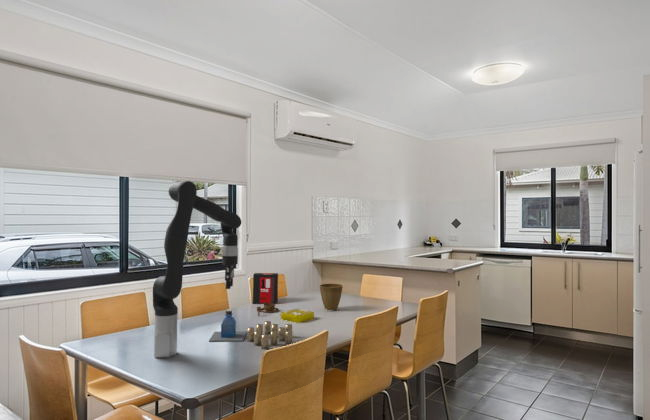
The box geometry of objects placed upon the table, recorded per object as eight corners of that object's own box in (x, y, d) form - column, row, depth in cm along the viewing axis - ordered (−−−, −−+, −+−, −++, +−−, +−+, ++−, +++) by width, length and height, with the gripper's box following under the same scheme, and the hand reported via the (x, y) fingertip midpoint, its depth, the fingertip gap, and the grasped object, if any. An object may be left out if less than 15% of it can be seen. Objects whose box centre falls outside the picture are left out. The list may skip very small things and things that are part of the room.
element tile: (315, 319, 253) (315, 311, 253) (298, 324, 241) (298, 315, 241) (296, 315, 262) (296, 307, 262) (279, 319, 251) (279, 311, 251)
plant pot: (319, 307, 285) (320, 283, 285) (342, 307, 285) (342, 283, 285) (318, 312, 270) (319, 286, 271) (342, 312, 270) (342, 287, 270)
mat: (243, 341, 204) (243, 340, 205) (208, 341, 203) (208, 340, 203) (246, 332, 220) (246, 331, 220) (214, 332, 219) (214, 331, 219)
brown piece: (285, 313, 269) (285, 303, 269) (258, 317, 255) (258, 307, 255) (269, 308, 282) (269, 299, 282) (242, 312, 268) (242, 303, 268)
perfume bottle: (235, 333, 215) (235, 309, 215) (233, 337, 209) (234, 312, 209) (223, 334, 215) (223, 310, 215) (221, 337, 209) (221, 312, 209)
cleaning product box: (252, 304, 293) (253, 274, 293) (254, 301, 302) (254, 273, 302) (277, 304, 294) (277, 274, 295) (277, 301, 303) (278, 273, 303)
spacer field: (292, 349, 193) (292, 335, 194) (244, 349, 192) (244, 336, 192) (291, 332, 222) (292, 320, 222) (249, 332, 220) (250, 321, 220)
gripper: (236, 256, 206) (235, 289, 206) (239, 253, 220) (238, 285, 220) (220, 255, 205) (219, 289, 205) (224, 253, 219) (223, 285, 219)
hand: (229, 287), depth 212 cm, fingers open, 8 cm apart
